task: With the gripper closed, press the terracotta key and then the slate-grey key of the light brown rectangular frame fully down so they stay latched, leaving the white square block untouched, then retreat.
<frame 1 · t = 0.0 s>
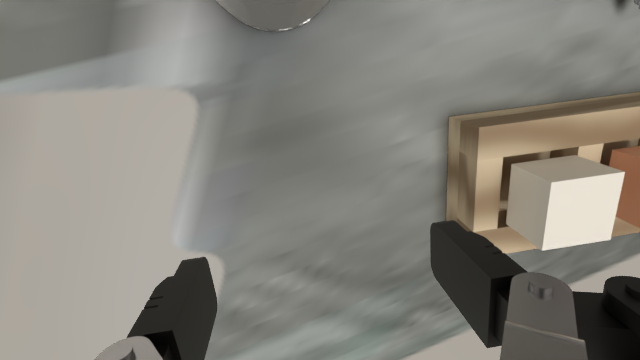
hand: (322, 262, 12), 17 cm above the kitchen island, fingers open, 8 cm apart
white square block: (559, 200, 25), point 7 cm above the kitchen island, slide at 0.0 cm
light brown rectangular frame: (583, 158, 32), on the kitchen island
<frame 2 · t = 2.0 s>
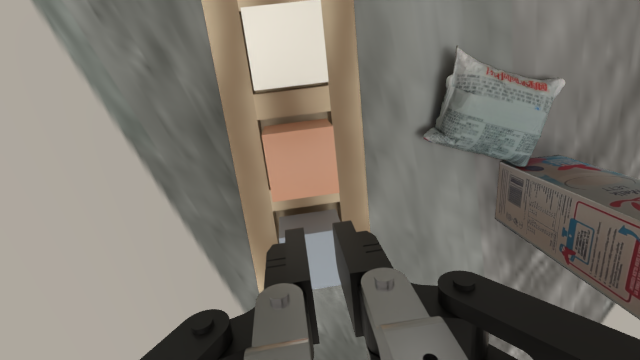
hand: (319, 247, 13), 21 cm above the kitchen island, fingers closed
slate key: (312, 249, 29), point 7 cm above the kitchen island, slide at 0.0 cm
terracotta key: (300, 158, 26), point 7 cm above the kitchen island, slide at 0.0 cm
white square block: (286, 48, 24), point 7 cm above the kitchen island, slide at 0.0 cm
light brown rectangular frame: (296, 140, 33), on the kitchen island
packaged food: (480, 105, 34), on the kitchen island
juice carton: (525, 187, 38), on the kitchen island
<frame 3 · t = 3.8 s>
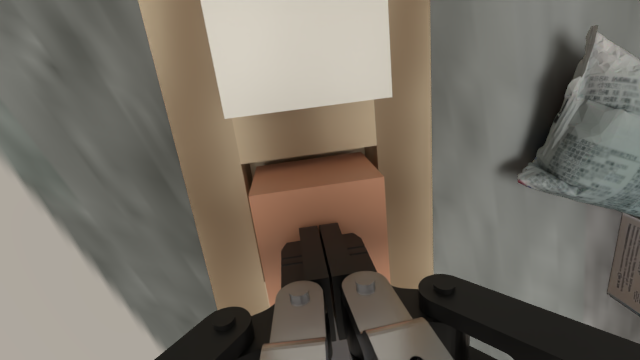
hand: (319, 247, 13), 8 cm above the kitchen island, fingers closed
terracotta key: (319, 224, 15), point 6 cm above the kitchen island, slide at 1.5 cm, touching gripper
white square block: (295, 24, 11), point 7 cm above the kitchen island, slide at 0.0 cm
light brown rectangular frame: (310, 184, 20), on the kitchen island
packaged food: (600, 127, 22), on the kitchen island
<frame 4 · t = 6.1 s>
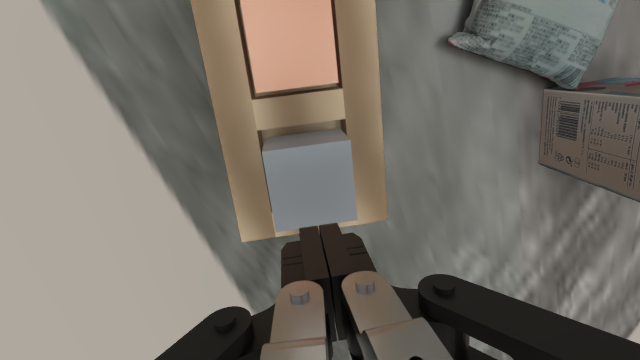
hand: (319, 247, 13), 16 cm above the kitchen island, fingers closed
slate key: (309, 177, 22), point 7 cm above the kitchen island, slide at 0.0 cm
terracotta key: (290, 45, 22), point 4 cm above the kitchen island, slide at 2.5 cm
light brown rectangular frame: (289, 49, 26), on the kitchen island
packaged food: (520, 12, 27), on the kitchen island
juice carton: (575, 121, 30), on the kitchen island
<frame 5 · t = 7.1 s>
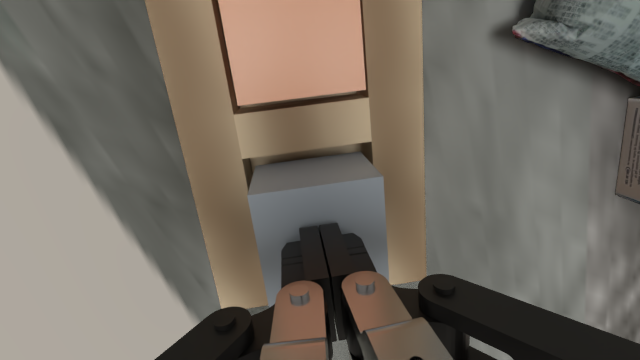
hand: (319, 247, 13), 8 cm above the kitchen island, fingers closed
slate key: (318, 224, 15), point 6 cm above the kitchen island, slide at 0.7 cm, touching gripper
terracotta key: (292, 33, 14), point 4 cm above the kitchen island, slide at 2.5 cm
light brown rectangular frame: (290, 41, 19), on the kitchen island
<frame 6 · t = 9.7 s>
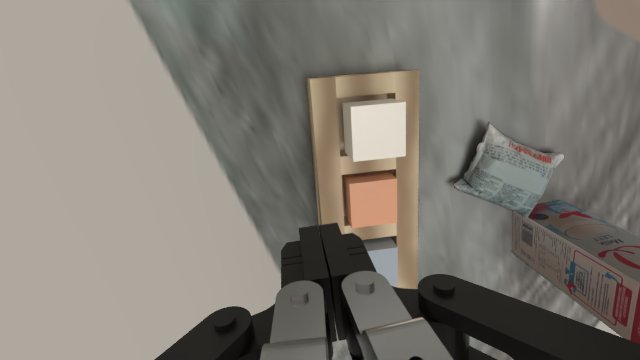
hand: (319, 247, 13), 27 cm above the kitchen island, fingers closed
slate key: (371, 260, 40), point 4 cm above the kitchen island, slide at 2.5 cm
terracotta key: (369, 197, 38), point 4 cm above the kitchen island, slide at 2.5 cm
white square block: (373, 128, 33), point 7 cm above the kitchen island, slide at 0.0 cm
light brown rectangular frame: (359, 184, 42), on the kitchen island
packaged food: (498, 164, 44), on the kitchen island
juice carton: (534, 226, 47), on the kitchen island
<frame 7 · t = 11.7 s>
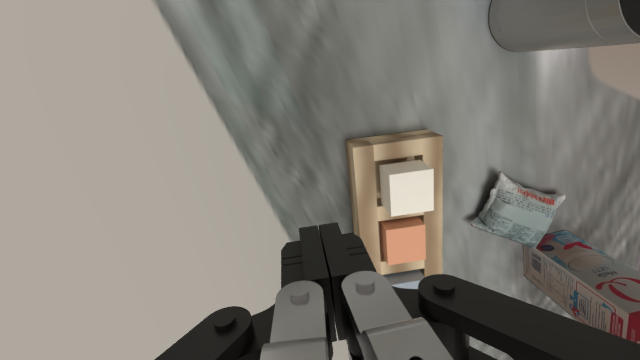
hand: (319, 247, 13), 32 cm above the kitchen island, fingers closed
slate key: (403, 289, 48), point 4 cm above the kitchen island, slide at 2.5 cm
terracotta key: (401, 237, 45), point 4 cm above the kitchen island, slide at 2.5 cm
white square block: (405, 187, 40), point 7 cm above the kitchen island, slide at 0.0 cm
light brown rectangular frame: (390, 223, 49), on the kitchen island
packaged food: (508, 203, 51), on the kitchen island
juice carton: (542, 252, 54), on the kitchen island
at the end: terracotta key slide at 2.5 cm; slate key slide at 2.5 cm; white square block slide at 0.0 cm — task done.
